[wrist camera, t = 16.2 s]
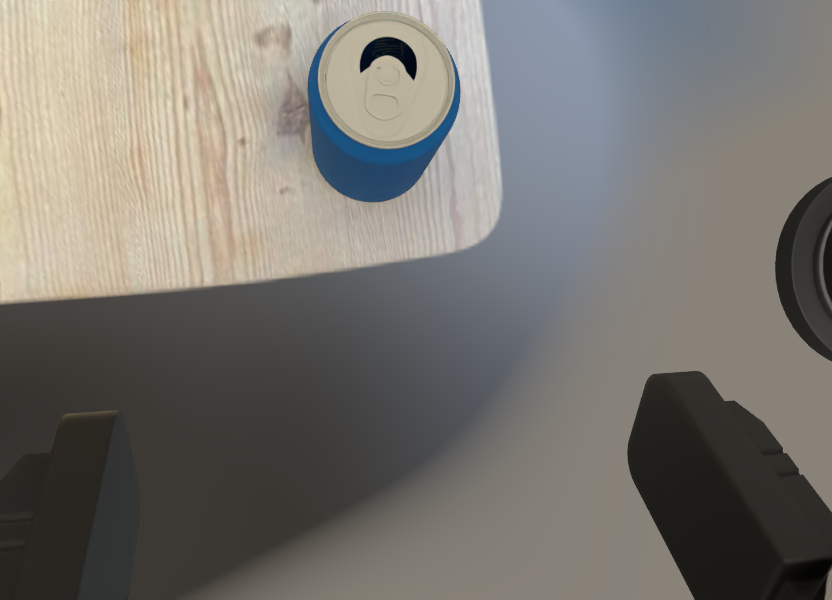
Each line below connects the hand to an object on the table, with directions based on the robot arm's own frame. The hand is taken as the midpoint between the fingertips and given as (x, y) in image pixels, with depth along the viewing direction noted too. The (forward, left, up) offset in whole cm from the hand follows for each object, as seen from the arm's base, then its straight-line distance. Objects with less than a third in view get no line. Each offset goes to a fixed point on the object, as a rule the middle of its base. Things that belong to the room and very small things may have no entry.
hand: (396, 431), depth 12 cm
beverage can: (-2, -11, -31) cm, 33 cm away
